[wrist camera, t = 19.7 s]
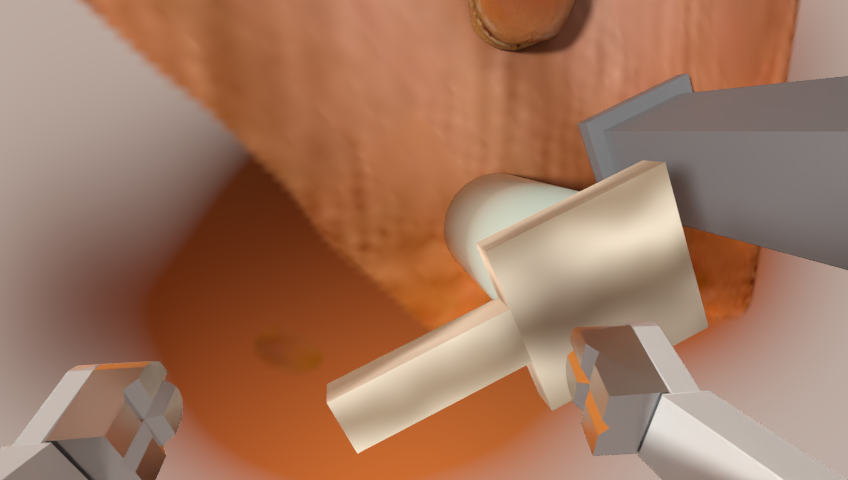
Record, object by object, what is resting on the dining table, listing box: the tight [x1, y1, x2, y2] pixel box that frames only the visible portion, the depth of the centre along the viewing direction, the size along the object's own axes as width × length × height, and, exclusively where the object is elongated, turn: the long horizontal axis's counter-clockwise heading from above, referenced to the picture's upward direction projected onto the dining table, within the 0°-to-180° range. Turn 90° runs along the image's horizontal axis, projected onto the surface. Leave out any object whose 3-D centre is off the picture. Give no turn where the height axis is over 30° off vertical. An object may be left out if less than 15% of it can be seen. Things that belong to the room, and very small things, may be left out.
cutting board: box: [327, 160, 709, 453], centre depth 28 cm, size 12×24×2 cm, turn 114°
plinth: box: [578, 74, 848, 270], centre depth 34 cm, size 12×12×30 cm
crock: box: [444, 173, 579, 300], centre depth 38 cm, size 11×11×18 cm
